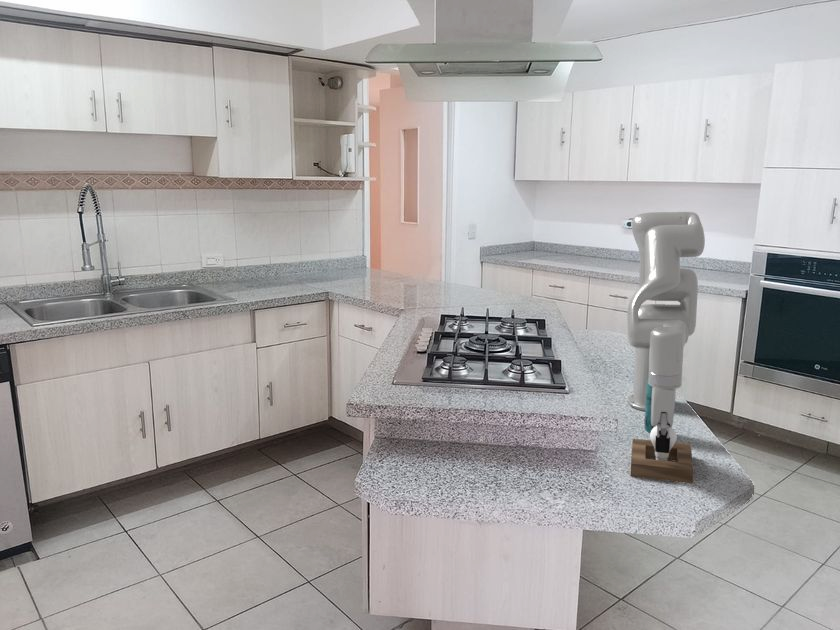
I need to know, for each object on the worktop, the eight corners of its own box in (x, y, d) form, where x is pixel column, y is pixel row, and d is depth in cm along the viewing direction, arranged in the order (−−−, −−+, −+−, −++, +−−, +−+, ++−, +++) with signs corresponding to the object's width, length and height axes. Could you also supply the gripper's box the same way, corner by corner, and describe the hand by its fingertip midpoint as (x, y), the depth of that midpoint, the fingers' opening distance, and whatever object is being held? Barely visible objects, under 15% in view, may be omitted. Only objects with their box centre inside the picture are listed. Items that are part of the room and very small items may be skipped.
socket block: (632, 450, 168) (632, 438, 167) (689, 456, 163) (690, 444, 162) (630, 476, 155) (630, 463, 154) (692, 483, 150) (693, 470, 149)
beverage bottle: (648, 428, 180) (651, 361, 175) (672, 433, 176) (676, 365, 171) (640, 436, 175) (642, 368, 170) (664, 442, 171) (667, 372, 166)
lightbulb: (675, 463, 160) (679, 423, 157) (672, 474, 155) (675, 432, 152) (650, 458, 163) (653, 418, 160) (645, 468, 158) (648, 427, 155)
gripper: (648, 365, 162) (646, 427, 166) (648, 390, 146) (645, 457, 151) (680, 367, 160) (677, 430, 164) (683, 392, 144) (679, 461, 148)
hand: (661, 443), depth 157 cm, fingers open, 9 cm apart
